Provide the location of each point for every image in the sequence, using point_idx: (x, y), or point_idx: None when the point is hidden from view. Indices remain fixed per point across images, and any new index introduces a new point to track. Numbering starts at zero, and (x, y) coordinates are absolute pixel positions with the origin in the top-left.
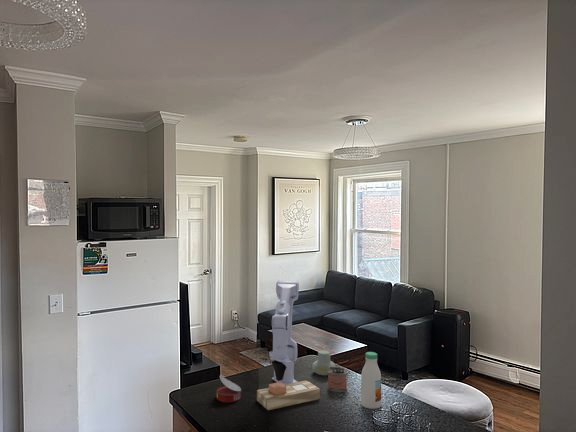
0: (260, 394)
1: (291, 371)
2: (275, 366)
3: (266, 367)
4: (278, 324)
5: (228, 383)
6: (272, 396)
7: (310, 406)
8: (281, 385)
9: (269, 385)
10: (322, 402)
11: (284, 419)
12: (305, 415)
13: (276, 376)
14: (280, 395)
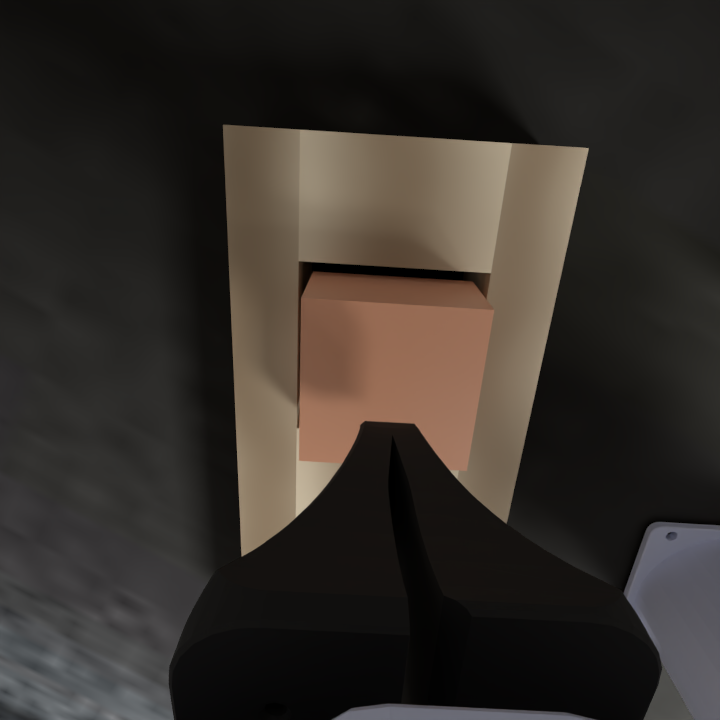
0: (464, 140)
1: (693, 705)
2: (347, 562)
3: None
4: None
5: None
6: (290, 231)
7: (171, 497)
8: (356, 429)
9: (470, 304)
10: (199, 594)
11: (4, 175)
12: (29, 382)
13: (396, 443)
14: (270, 330)
